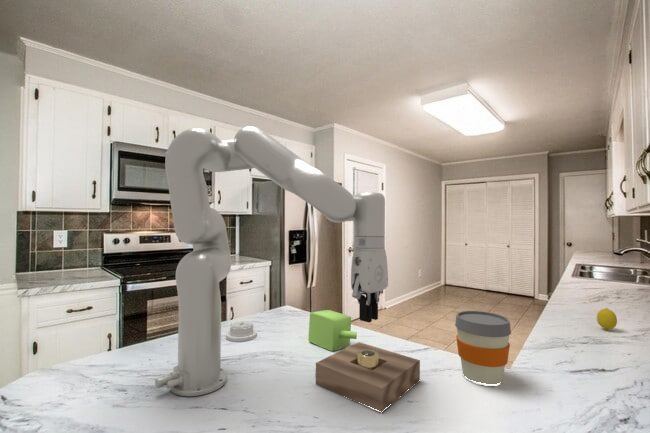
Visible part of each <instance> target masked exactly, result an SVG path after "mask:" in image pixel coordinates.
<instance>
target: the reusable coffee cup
mask: <svg viewBox="0 0 650 433" xmlns="http://www.w3.org/2000/svg"><path fill="white" fill-rule="evenodd" d="M510 321H511V320H510V319H509V318H507V317H506V316H504V315H501V314H498V313H493V312H487V311H483V310H481V311H480V310H463V311H459V312H457V313H456V317H455V325H454V326H455V328H456V332H457V335H456V337H455V338H456V346H457V352H458V357H460V363H461V371H462V375H463V374H464V376H466V377H467V378H468V379H470V380H473V381H476V382H481V383H486V384H497V383H500V382H502V381H503V382H504V374H505V369H506V368H505V366H506V365H507V364H508V362H509V361H508V360H509V354H510V346H511V344H510V342H509V339H510V335H512V329H511V322H510ZM464 376H463V377H464ZM503 382H502V383H503Z"/></svg>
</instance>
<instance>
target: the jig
mask: <svg viewBox="0 0 650 433" xmlns="http://www.w3.org/2000/svg"><path fill="white" fill-rule="evenodd" d="M364 349H370V350H374V351H376V352H378V367H377V368H376V369H374V370H370V369H368V368H365V367H362V366H359V365H358V351H360V350H364ZM419 380H420V381H421V360H420V359H417V358H413V357H412V356H411V357H410V356H408V355H403V354H400V353H397V352H394V351H390V350H387V349H384V348H380V347H377V346H374V345H370V344H366V343H364V342H362V341H361V342H360V341H358V342H355V343H354V344H352V345H349V346H347V347H344V348H342V350H340V351H337V352H335V353H333V354H331V355H329V356H328V357H325V358H323V359H321V360H319V361H317V362H315V385H317V386H319V387H321V388H324V389H326V390H328V391H330V392H333V393H335V394H337V395H339V396H341V395H342V397H343V396H345V397H344V398H346V397H347V398H346V399H348V398H349V399H348V400H350V399H352V400H355V401H357V402H360V403H362V404H365V405H367V406H370V407H372V408H374V409H377V410H379V411H381V412H382V411H383V410H384V409H385V408H386V407H388V406H389V405H390V404H392V403H393V402H394V401H396V400H397V399H398V398H399V397H400V396H402V395H403V394H404V393H405V392H406V391H407V390H408V389H410V388H411V387H412V386H413V385H414V384H416V383H417V382H418V381H419ZM420 381H419V382H420ZM419 382H418V383H419ZM418 383H417V384H418ZM417 384H416V385H417ZM414 386H415V385H414ZM414 386H413V387H414ZM413 387H412V388H413ZM412 388H411V389H412ZM411 389H410V390H411ZM407 392H408V391H407ZM407 392H406V393H407ZM406 393H405V394H406ZM405 394H404V395H405ZM404 395H403V396H404ZM403 396H402V397H403ZM400 398H401V397H400ZM400 398H399V399H400ZM399 399H398V400H399ZM352 400H351V401H352ZM398 400H397V401H398ZM355 401H354V402H355ZM397 401H396V402H397ZM357 402H356V403H357ZM393 404H394V403H393ZM393 404H392V405H393Z"/></svg>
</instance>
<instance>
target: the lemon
mask: <svg viewBox="0 0 650 433" xmlns="http://www.w3.org/2000/svg"><path fill="white" fill-rule="evenodd" d="M617 318H618V317H617V315H616V314H615V312H614V311H613V310H611V309H609V308H608V307H605V308H603V309H602V308H601V309H600V310H599V311H598V312H597V315H596V321H597V322H596V323H597V324H598V325H599V326H600V327H601V328H603V329H604V330H605V329H606V330H605V331H609V330H612V329H614V328H616V326H617V324H618V319H617Z"/></svg>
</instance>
